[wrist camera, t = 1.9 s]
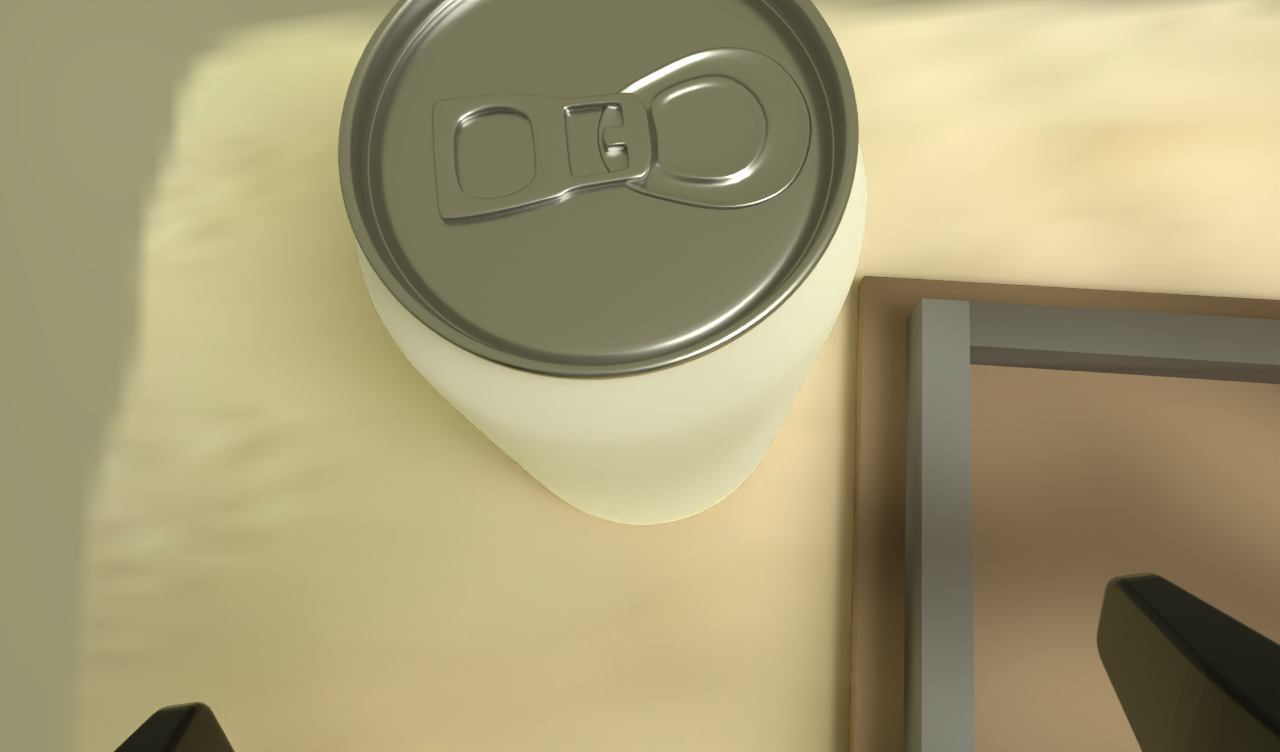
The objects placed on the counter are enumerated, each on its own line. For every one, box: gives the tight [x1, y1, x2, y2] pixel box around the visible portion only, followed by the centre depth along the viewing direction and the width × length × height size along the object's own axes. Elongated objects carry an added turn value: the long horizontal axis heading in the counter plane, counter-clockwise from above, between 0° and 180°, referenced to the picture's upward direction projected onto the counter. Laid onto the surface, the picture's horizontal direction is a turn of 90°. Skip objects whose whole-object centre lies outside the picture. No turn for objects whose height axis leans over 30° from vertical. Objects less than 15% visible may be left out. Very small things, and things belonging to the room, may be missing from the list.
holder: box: [849, 276, 1280, 752], centre depth 18 cm, size 14×14×2 cm
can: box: [338, 0, 867, 525], centre depth 15 cm, size 6×6×12 cm
